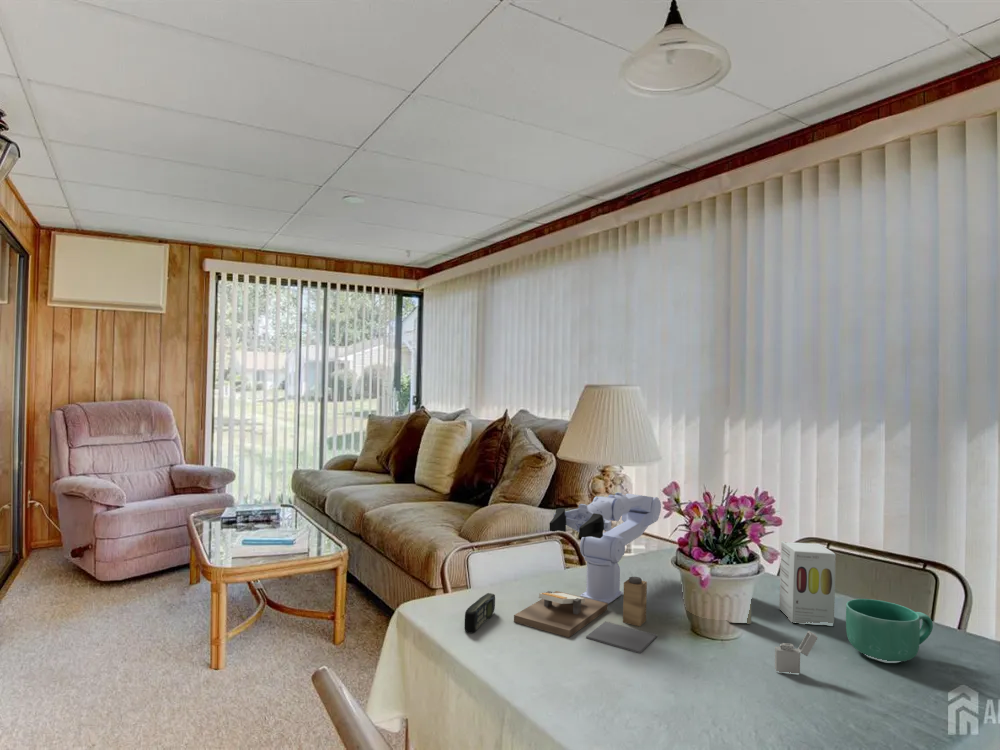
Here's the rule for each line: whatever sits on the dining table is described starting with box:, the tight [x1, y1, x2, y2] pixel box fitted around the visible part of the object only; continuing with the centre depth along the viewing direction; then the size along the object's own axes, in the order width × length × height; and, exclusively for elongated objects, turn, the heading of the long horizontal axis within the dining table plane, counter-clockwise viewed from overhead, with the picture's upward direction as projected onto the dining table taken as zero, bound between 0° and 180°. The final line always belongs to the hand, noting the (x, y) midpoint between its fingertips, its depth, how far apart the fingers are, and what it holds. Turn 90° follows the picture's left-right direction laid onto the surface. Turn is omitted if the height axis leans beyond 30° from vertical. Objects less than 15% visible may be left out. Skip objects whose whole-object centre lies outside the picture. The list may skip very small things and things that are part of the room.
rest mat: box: [585, 621, 658, 654], centre depth 128 cm, size 10×12×1 cm
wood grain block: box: [622, 576, 648, 627], centre depth 136 cm, size 4×4×10 cm
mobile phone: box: [463, 592, 496, 634], centre depth 135 cm, size 5×3×15 cm
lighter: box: [774, 630, 819, 674], centre depth 113 cm, size 7×2×8 cm, turn 78°
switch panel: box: [513, 590, 609, 638], centre depth 139 cm, size 20×14×4 cm
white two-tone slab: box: [538, 592, 585, 604], centre depth 139 cm, size 12×6×1 cm, turn 146°
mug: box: [845, 598, 934, 662], centre depth 121 cm, size 17×13×10 cm
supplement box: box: [778, 541, 837, 624], centre depth 141 cm, size 10×9×17 cm
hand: (565, 529), depth 136 cm, fingers open, 7 cm apart
